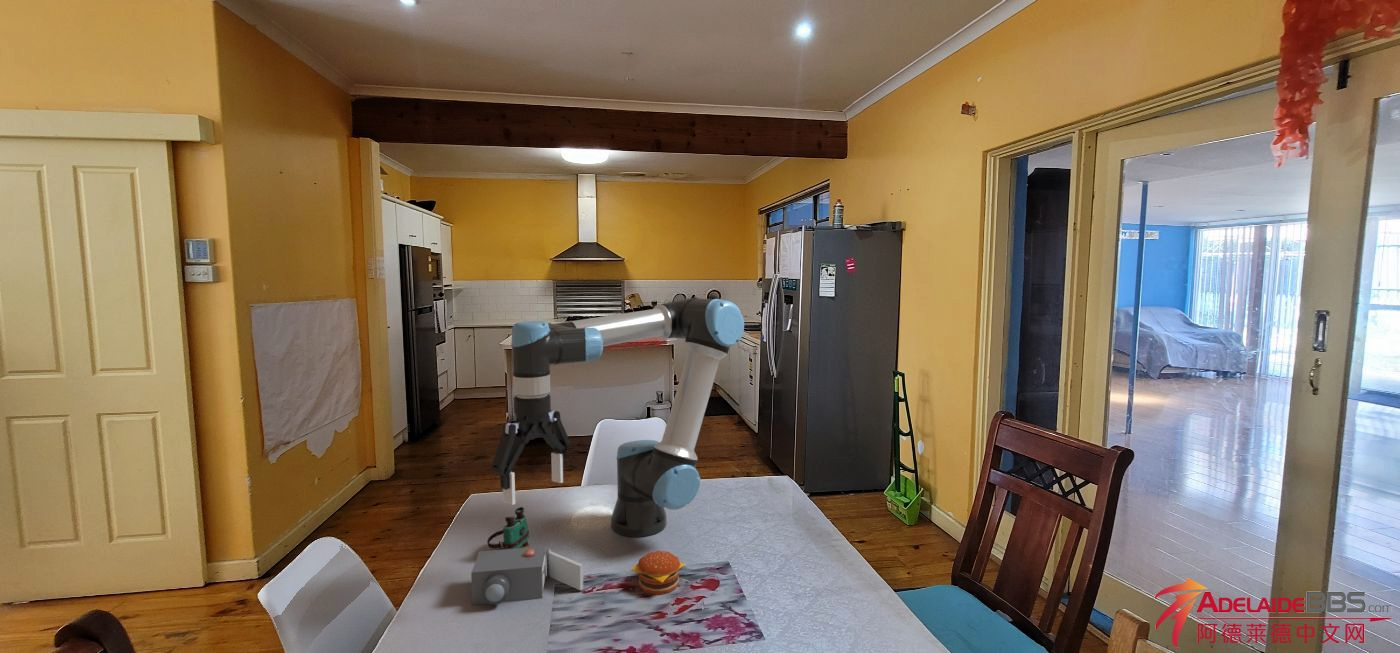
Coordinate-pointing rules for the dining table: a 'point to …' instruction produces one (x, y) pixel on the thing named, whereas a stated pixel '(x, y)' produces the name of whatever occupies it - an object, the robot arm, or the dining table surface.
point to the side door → (564, 570)
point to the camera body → (508, 575)
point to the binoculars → (513, 532)
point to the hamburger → (658, 572)
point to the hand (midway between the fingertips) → (534, 491)
